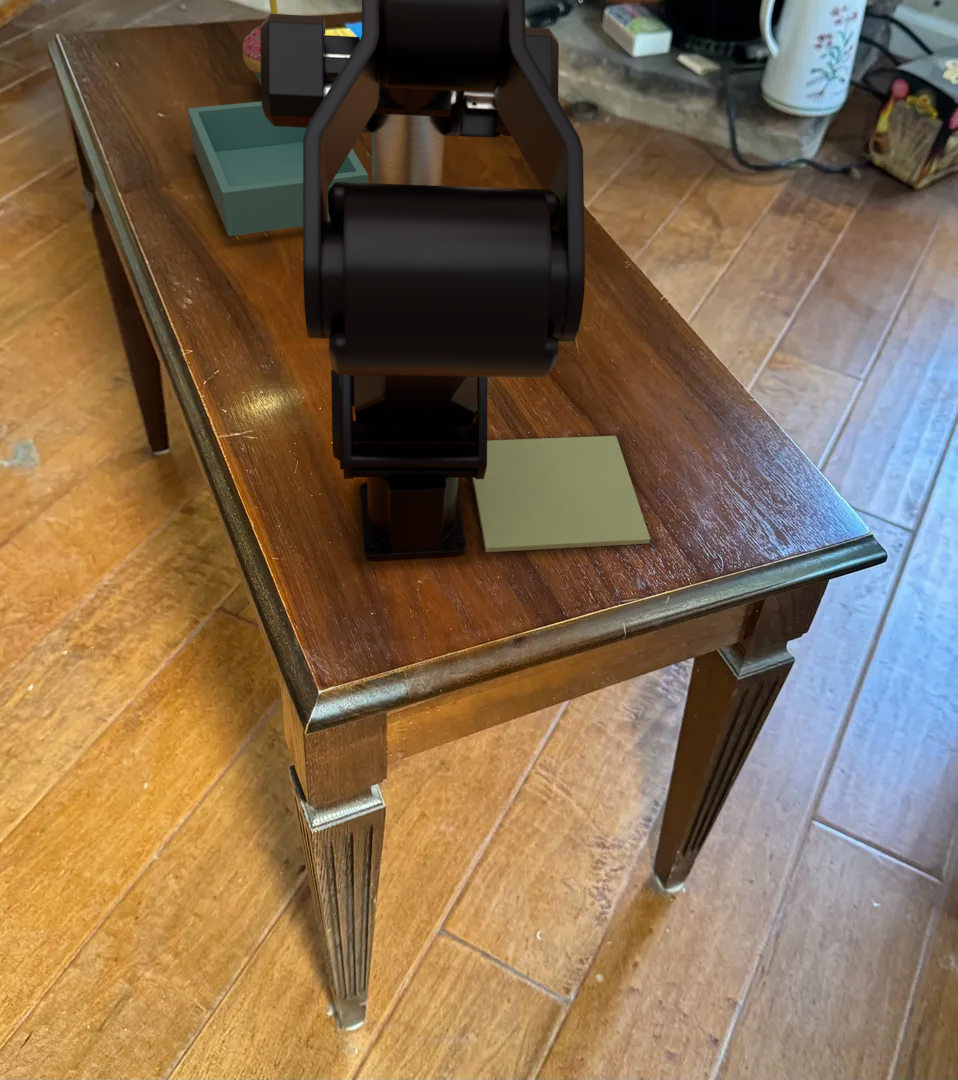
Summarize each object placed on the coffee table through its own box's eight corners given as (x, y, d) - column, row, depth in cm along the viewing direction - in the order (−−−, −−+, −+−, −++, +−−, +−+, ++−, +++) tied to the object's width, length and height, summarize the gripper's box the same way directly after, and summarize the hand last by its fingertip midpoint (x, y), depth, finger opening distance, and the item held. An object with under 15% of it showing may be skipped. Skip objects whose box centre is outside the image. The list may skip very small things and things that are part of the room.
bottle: (433, 234, 70) (439, 67, 61) (365, 223, 71) (361, 55, 62) (447, 201, 74) (455, 38, 65) (382, 191, 74) (381, 27, 65)
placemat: (649, 543, 62) (650, 538, 62) (485, 552, 61) (485, 547, 61) (615, 440, 69) (616, 435, 69) (465, 446, 67) (466, 440, 67)
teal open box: (368, 224, 86) (368, 174, 82) (229, 244, 82) (222, 192, 78) (322, 143, 95) (319, 95, 91) (195, 157, 91) (187, 108, 88)
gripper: (579, -116, 54) (536, 20, 69) (244, -139, 52) (277, 6, 67) (577, 84, 54) (534, 175, 70) (246, 68, 52) (278, 165, 68)
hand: (408, 127), depth 69 cm, fingers closed on bottle, 5 cm apart
